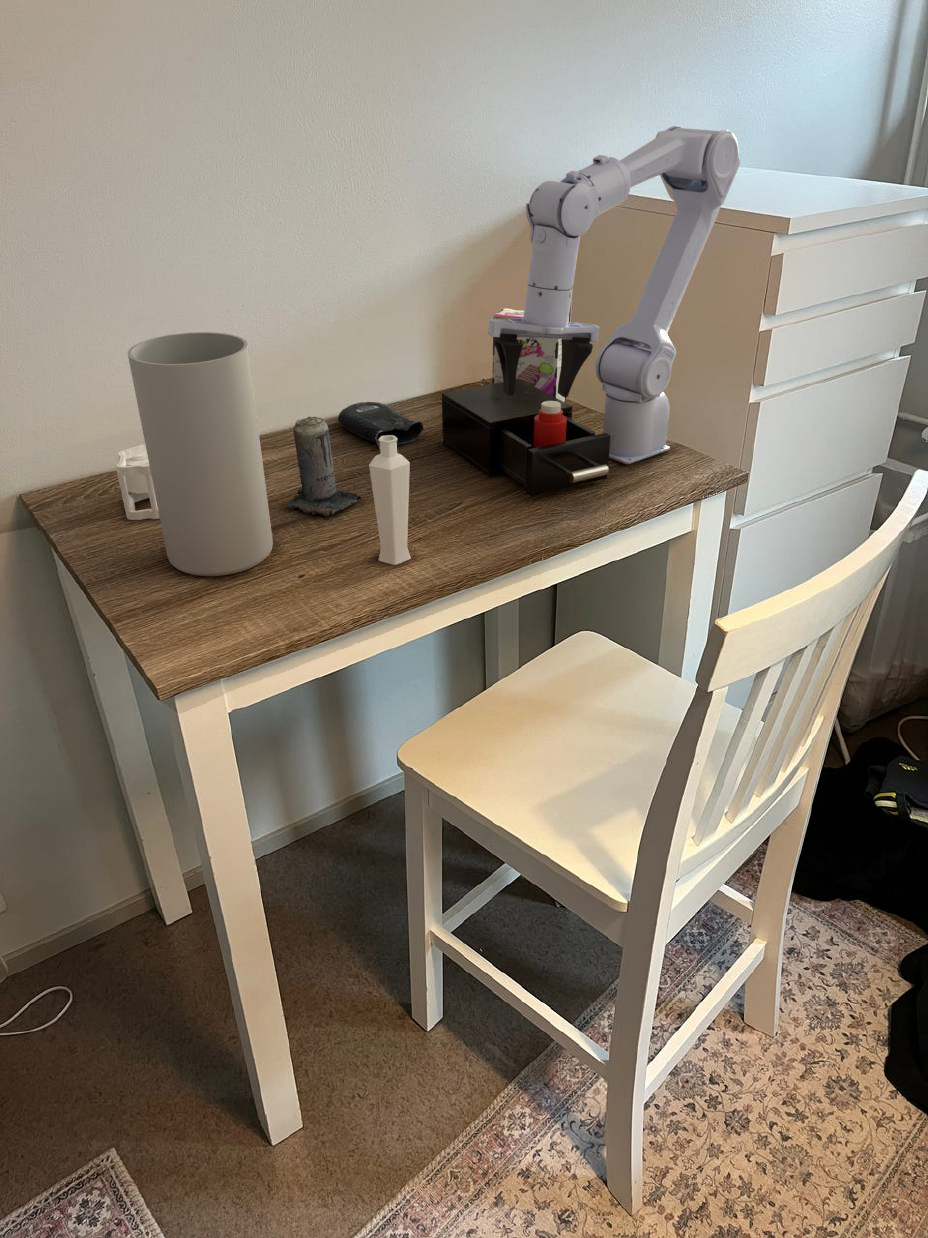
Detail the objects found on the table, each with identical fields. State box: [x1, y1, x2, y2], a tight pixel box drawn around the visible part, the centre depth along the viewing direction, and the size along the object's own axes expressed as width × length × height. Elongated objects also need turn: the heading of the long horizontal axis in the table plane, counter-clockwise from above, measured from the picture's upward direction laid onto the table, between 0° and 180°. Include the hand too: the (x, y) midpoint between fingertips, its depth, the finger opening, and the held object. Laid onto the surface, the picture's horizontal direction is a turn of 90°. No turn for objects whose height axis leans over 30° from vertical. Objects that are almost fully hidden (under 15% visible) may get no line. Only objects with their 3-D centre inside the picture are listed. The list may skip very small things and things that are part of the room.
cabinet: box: [441, 379, 573, 478], centre depth 140 cm, size 15×14×8 cm
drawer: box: [494, 415, 611, 498], centre depth 130 cm, size 18×12×6 cm
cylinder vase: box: [127, 331, 274, 577], centre depth 108 cm, size 12×12×25 cm
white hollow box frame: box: [115, 443, 160, 521], centre depth 128 cm, size 20×11×7 cm, turn 123°
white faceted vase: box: [368, 435, 412, 566], centre depth 110 cm, size 5×4×15 cm
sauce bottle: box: [533, 401, 567, 448], centre depth 130 cm, size 4×4×9 cm
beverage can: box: [287, 415, 363, 518], centre depth 123 cm, size 9×8×12 cm
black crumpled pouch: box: [337, 401, 425, 450], centre depth 149 cm, size 9×6×15 cm
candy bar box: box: [491, 308, 570, 403], centre depth 151 cm, size 11×5×16 cm, turn 66°
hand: (535, 394), depth 125 cm, fingers open, 7 cm apart
